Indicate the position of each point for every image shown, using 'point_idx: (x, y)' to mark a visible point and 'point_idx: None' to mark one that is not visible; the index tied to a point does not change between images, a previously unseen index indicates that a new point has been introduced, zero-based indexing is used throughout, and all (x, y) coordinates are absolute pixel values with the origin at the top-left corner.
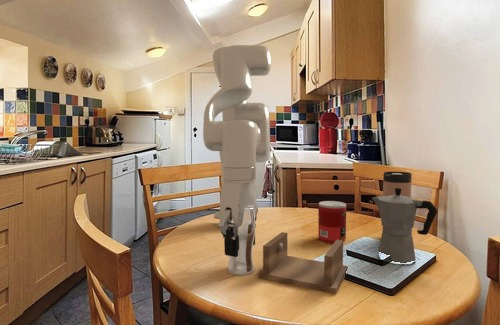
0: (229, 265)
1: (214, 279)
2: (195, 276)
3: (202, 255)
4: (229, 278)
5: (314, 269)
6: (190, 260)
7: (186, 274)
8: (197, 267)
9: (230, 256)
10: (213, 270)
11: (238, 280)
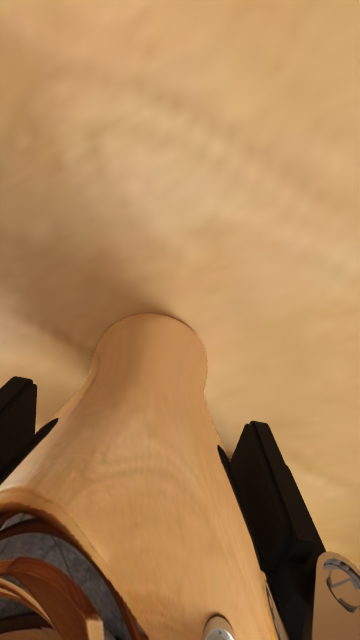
0: (107, 341)
1: (21, 289)
2: (9, 181)
3: (309, 78)
4: (57, 345)
5: None
6: (209, 21)
7: (8, 111)
8: (116, 137)
9: (92, 372)
10: (108, 248)
11: (54, 381)
